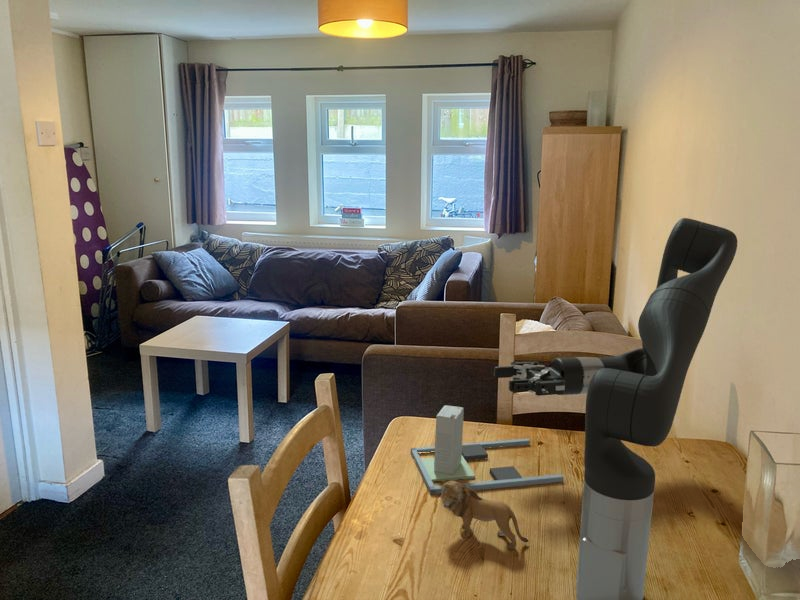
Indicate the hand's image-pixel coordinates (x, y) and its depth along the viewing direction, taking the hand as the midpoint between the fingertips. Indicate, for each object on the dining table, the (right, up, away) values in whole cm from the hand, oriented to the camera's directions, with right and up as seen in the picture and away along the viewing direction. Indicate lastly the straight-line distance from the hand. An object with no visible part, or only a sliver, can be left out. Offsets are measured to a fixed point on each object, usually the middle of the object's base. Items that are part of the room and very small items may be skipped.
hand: (501, 378), depth 126 cm
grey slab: (-5, -17, +9) cm, 20 cm away
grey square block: (+1, -19, -1) cm, 19 cm away
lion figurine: (-7, -24, -21) cm, 32 cm away
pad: (-11, -19, +2) cm, 22 cm away
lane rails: (-3, -18, +4) cm, 19 cm away
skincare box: (-10, -18, +2) cm, 21 cm away
